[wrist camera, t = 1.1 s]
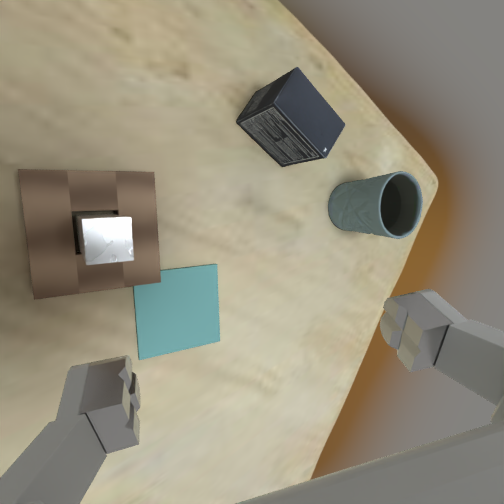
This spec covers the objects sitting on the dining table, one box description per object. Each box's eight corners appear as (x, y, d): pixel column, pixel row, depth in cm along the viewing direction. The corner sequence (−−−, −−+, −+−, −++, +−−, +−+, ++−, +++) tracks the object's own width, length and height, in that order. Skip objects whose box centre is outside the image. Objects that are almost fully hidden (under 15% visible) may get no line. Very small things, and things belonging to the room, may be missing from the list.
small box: (302, 136, 56) (348, 123, 47) (282, 168, 55) (326, 161, 46) (256, 88, 51) (299, 63, 42) (234, 122, 50) (272, 103, 41)
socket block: (21, 171, 38) (18, 169, 35) (148, 173, 45) (154, 172, 42) (35, 293, 40) (34, 299, 37) (155, 278, 47) (161, 282, 44)
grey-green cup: (337, 243, 62) (392, 251, 52) (315, 196, 59) (370, 194, 48) (371, 213, 66) (430, 214, 55) (353, 166, 62) (412, 158, 52)
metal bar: (75, 214, 41) (81, 219, 29) (111, 213, 43) (130, 217, 31) (78, 247, 42) (86, 265, 30) (113, 245, 44) (134, 260, 32)
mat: (132, 273, 45) (133, 274, 45) (215, 263, 51) (217, 264, 51) (138, 358, 47) (139, 360, 47) (218, 339, 53) (220, 341, 52)
